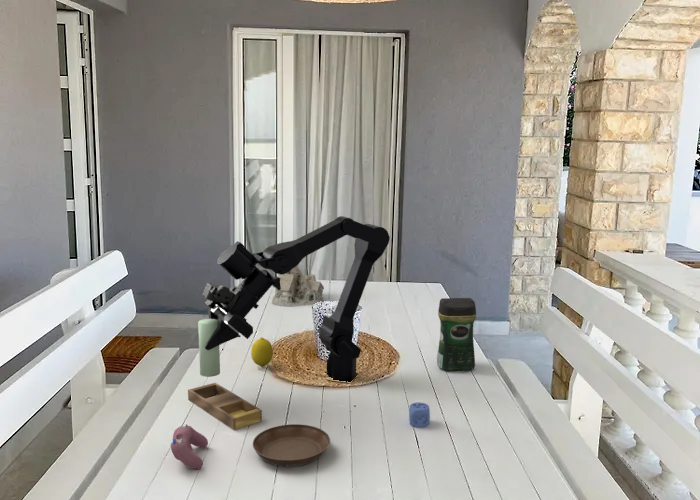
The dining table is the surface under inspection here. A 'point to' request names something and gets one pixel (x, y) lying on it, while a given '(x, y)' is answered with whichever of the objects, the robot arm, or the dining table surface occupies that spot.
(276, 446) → the saucer
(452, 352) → the coffee jar
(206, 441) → the video game controller
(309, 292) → the ceramic cottage
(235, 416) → the wooden compartment tray
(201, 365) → the peg
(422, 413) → the decorative dice
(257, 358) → the lemon
